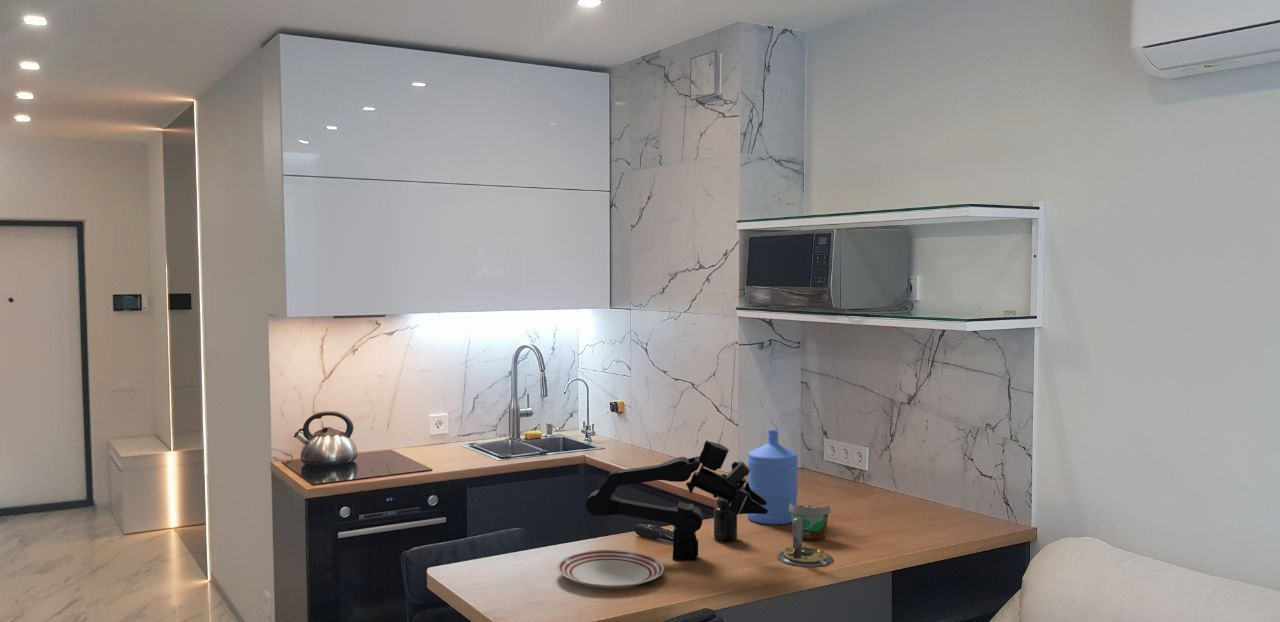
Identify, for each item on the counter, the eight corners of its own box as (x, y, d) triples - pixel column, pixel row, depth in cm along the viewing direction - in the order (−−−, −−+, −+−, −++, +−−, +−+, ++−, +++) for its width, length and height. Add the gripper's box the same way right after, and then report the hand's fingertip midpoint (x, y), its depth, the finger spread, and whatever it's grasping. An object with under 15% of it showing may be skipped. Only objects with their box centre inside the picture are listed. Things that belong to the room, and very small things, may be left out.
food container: (784, 540, 286) (784, 506, 285) (788, 534, 292) (789, 501, 291) (826, 544, 282) (827, 510, 281) (830, 539, 287) (830, 505, 287)
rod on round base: (796, 548, 276) (797, 507, 276) (834, 555, 269) (834, 514, 269) (775, 557, 267) (776, 516, 267) (814, 566, 260) (815, 523, 259)
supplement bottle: (722, 534, 291) (722, 494, 291) (741, 538, 287) (742, 498, 286) (708, 539, 286) (709, 499, 285) (728, 544, 282) (728, 502, 281)
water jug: (800, 526, 301) (801, 435, 300) (748, 525, 302) (749, 435, 301) (794, 513, 317) (795, 427, 316) (745, 512, 318) (746, 426, 316)
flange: (780, 566, 261) (780, 558, 261) (774, 550, 276) (775, 541, 276) (837, 567, 260) (837, 559, 260) (828, 550, 275) (828, 542, 275)
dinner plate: (685, 576, 253) (685, 564, 253) (612, 604, 233) (612, 590, 232) (608, 555, 271) (608, 543, 271) (534, 578, 251) (534, 565, 251)
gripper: (725, 464, 257) (780, 488, 256) (726, 450, 276) (777, 473, 275) (708, 502, 258) (763, 527, 257) (710, 486, 277) (761, 509, 276)
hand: (766, 507), depth 266 cm, fingers open, 9 cm apart
